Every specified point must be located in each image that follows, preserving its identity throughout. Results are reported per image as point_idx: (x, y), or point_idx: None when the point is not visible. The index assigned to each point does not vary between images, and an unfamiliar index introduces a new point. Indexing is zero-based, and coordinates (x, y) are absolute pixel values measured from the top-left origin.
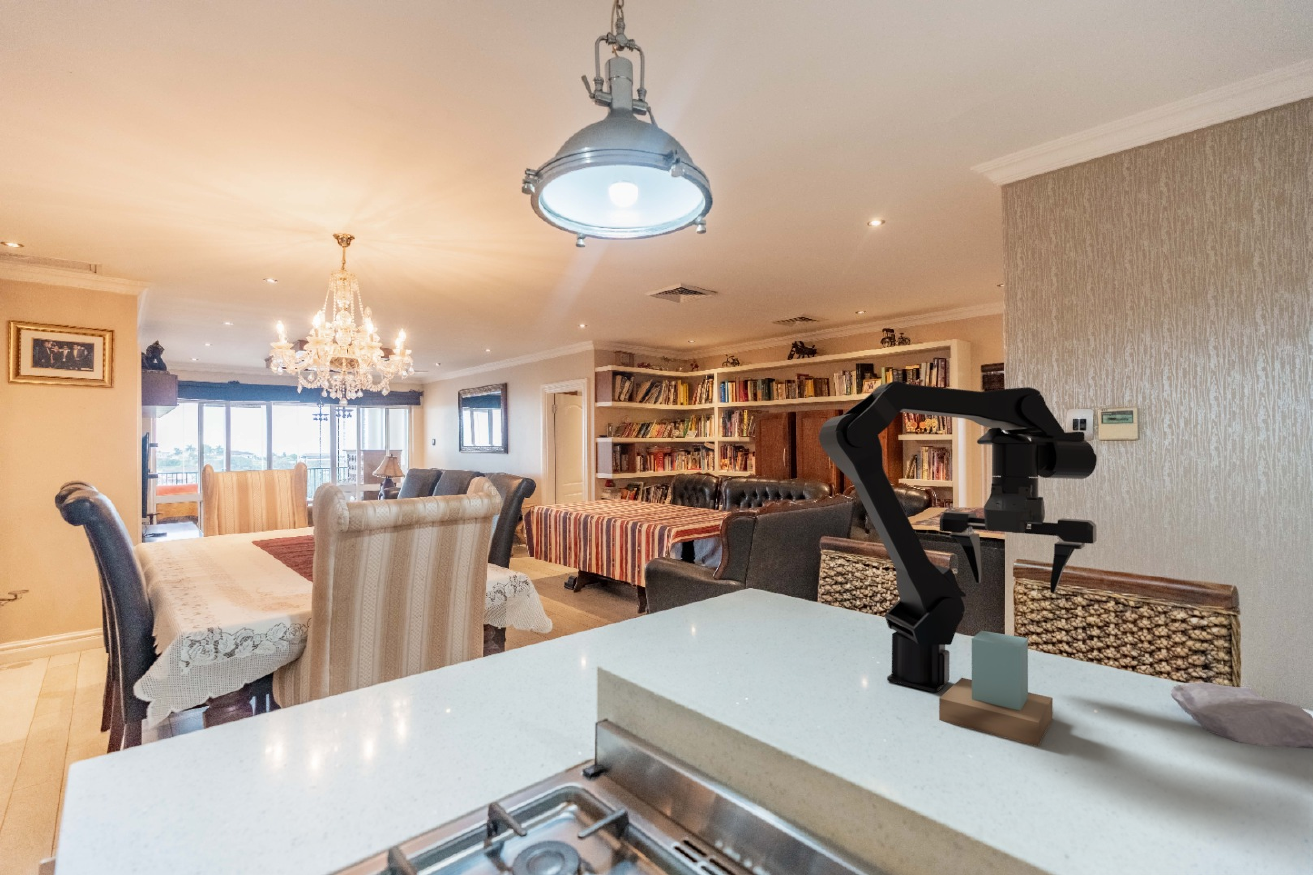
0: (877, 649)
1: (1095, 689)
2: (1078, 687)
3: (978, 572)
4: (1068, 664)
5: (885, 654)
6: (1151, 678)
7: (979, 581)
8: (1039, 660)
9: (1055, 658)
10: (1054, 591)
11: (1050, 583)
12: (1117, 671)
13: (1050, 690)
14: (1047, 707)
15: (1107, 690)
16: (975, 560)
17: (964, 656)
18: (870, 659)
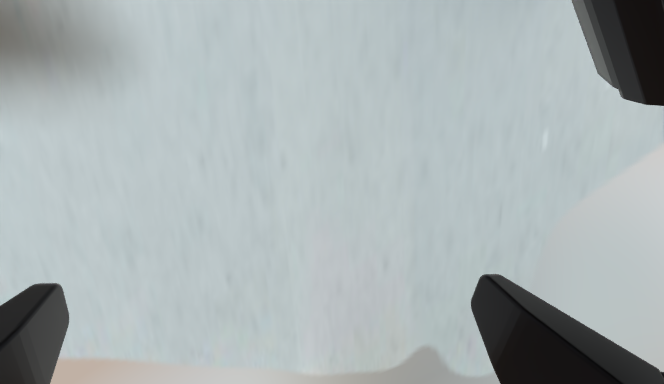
0: (588, 159)
1: (83, 185)
2: (122, 173)
3: (527, 317)
4: (182, 334)
5: (574, 129)
6: None
7: (484, 289)
8: (241, 322)
9: (214, 356)
10: (26, 290)
11: (20, 322)
12: (84, 354)
13: (175, 94)
14: None
15: (58, 197)
16: (618, 381)
17: (393, 242)
18: None
